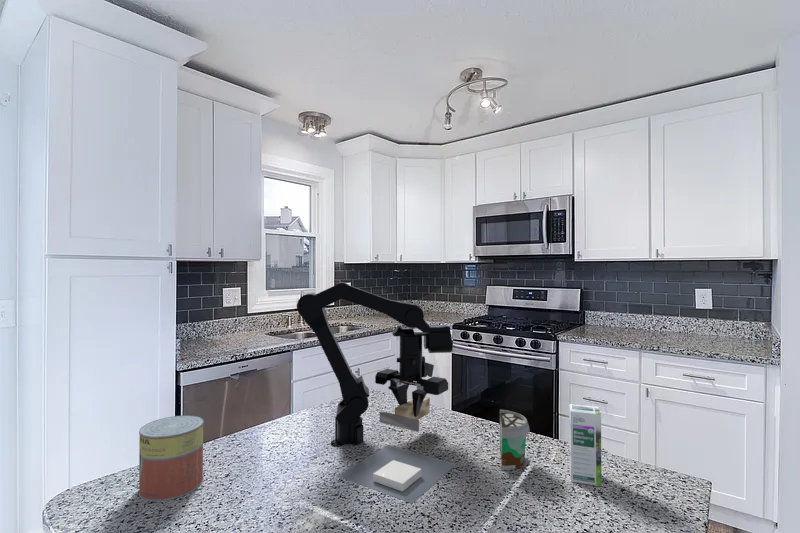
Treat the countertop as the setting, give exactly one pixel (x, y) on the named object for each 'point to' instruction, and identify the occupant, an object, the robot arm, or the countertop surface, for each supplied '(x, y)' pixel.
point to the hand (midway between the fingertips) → (410, 415)
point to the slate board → (429, 466)
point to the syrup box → (585, 444)
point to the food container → (512, 439)
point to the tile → (397, 475)
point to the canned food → (170, 457)
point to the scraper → (406, 415)
